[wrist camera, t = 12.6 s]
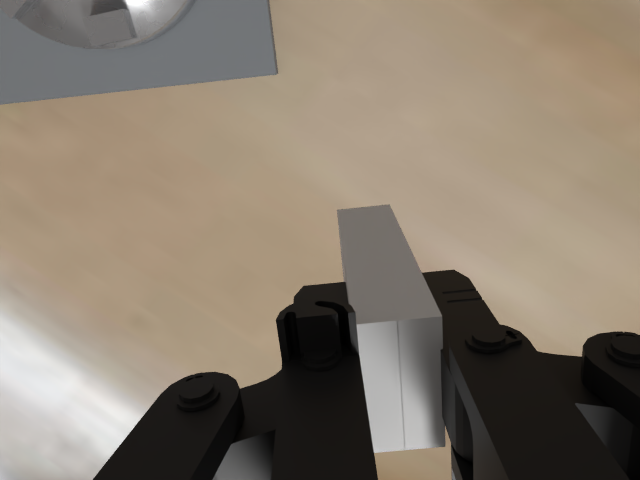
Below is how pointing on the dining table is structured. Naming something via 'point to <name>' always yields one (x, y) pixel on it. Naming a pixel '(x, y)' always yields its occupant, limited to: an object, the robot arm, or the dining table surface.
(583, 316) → the dining table surface
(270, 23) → the base plate
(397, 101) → the dining table surface
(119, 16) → the metal rotary base
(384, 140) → the dining table surface
